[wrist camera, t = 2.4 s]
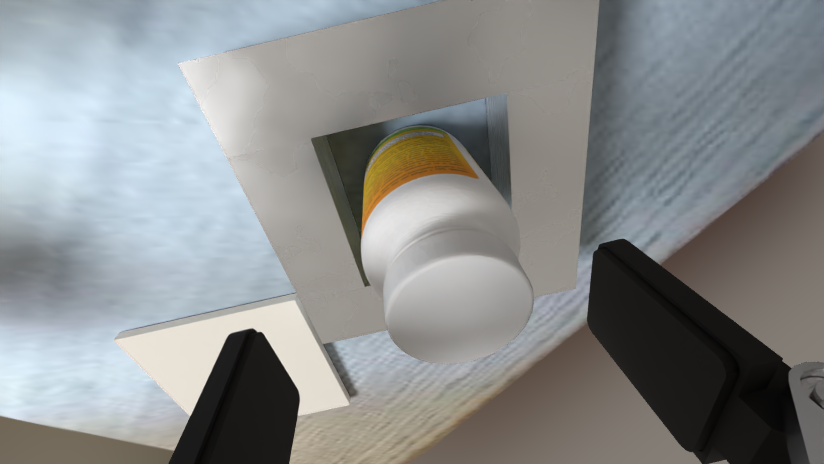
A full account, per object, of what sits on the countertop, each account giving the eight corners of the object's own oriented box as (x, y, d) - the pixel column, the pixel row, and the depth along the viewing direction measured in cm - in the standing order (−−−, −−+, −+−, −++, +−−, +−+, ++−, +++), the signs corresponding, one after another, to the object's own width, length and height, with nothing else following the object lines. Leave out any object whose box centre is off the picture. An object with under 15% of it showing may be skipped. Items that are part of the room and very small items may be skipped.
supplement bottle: (343, 189, 17) (315, 341, 9) (407, 98, 15) (449, 183, 7) (425, 239, 19) (467, 401, 11) (491, 164, 17) (603, 292, 9)
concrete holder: (557, -26, 13) (602, -38, 11) (550, 256, 21) (575, 288, 18) (214, 56, 13) (177, 63, 11) (328, 305, 21) (322, 344, 18)
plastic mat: (296, 293, 20) (294, 299, 20) (350, 397, 26) (349, 404, 25) (119, 332, 20) (113, 340, 20) (212, 427, 26) (209, 435, 26)
